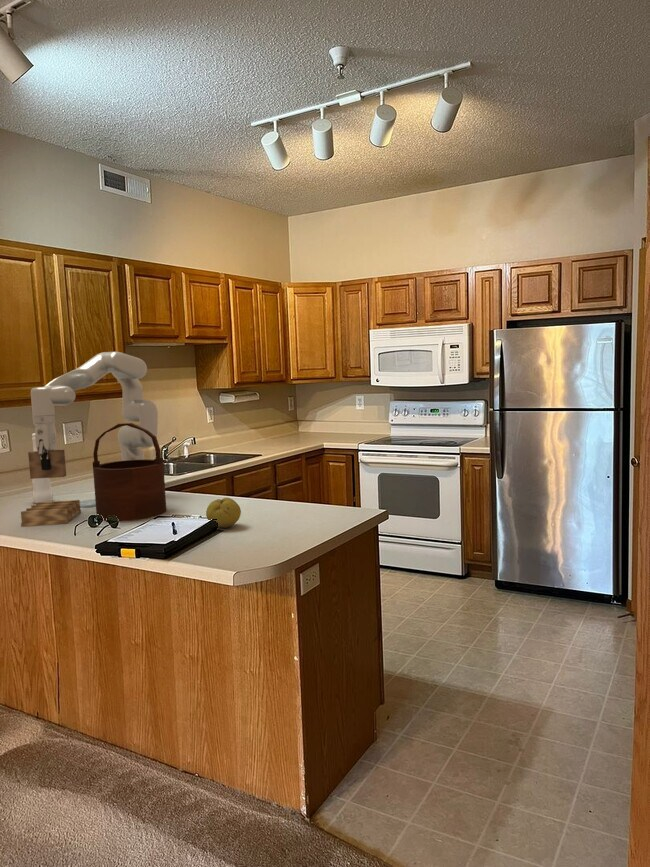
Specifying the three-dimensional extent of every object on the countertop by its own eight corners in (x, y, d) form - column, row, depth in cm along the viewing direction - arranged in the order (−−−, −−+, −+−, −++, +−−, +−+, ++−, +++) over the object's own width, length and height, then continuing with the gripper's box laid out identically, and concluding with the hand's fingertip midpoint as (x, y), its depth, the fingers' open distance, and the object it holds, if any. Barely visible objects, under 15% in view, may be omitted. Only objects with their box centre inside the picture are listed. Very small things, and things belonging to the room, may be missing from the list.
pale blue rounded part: (109, 501, 263) (109, 498, 263) (102, 507, 251) (102, 504, 251) (80, 503, 261) (80, 500, 261) (72, 509, 250) (71, 506, 249)
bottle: (44, 504, 260) (37, 434, 257) (28, 503, 263) (21, 434, 259) (57, 499, 268) (50, 431, 265) (42, 499, 270) (35, 432, 267)
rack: (81, 512, 241) (80, 499, 241) (67, 523, 223) (66, 509, 223) (38, 515, 240) (37, 502, 239) (21, 526, 222) (20, 512, 221)
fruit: (222, 522, 217) (220, 494, 216) (248, 525, 211) (247, 496, 210) (200, 529, 207) (199, 500, 206) (228, 533, 201) (226, 503, 200)
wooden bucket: (106, 508, 248) (100, 422, 245) (171, 504, 251) (166, 419, 247) (88, 523, 223) (80, 427, 219) (160, 519, 225) (154, 424, 221)
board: (66, 475, 232) (64, 449, 231) (63, 477, 229) (61, 450, 228) (33, 477, 231) (31, 451, 230) (30, 478, 228) (28, 452, 227)
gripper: (47, 421, 220) (51, 472, 222) (61, 418, 237) (65, 465, 238) (25, 422, 220) (29, 473, 221) (41, 419, 236) (45, 466, 238)
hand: (48, 468), depth 230 cm, fingers closed on board, 3 cm apart
